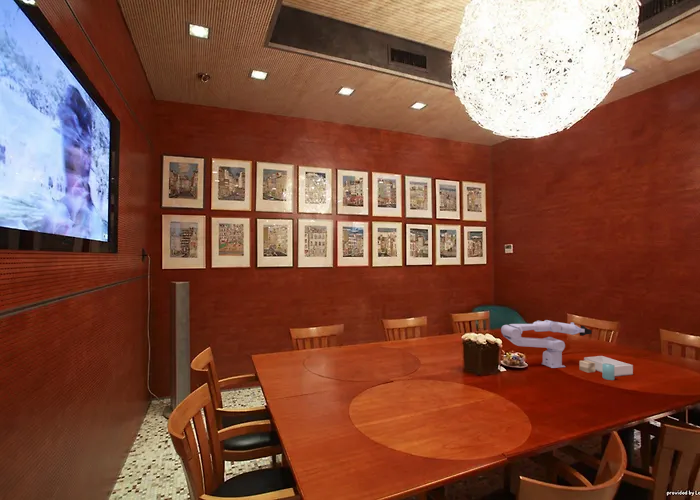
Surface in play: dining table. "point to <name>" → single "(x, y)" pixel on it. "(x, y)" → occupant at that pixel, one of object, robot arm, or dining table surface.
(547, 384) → the dining table surface
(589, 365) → the beech cube
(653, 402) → the dining table surface
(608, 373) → the teal cylinder
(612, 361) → the tote
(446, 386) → the dining table surface
